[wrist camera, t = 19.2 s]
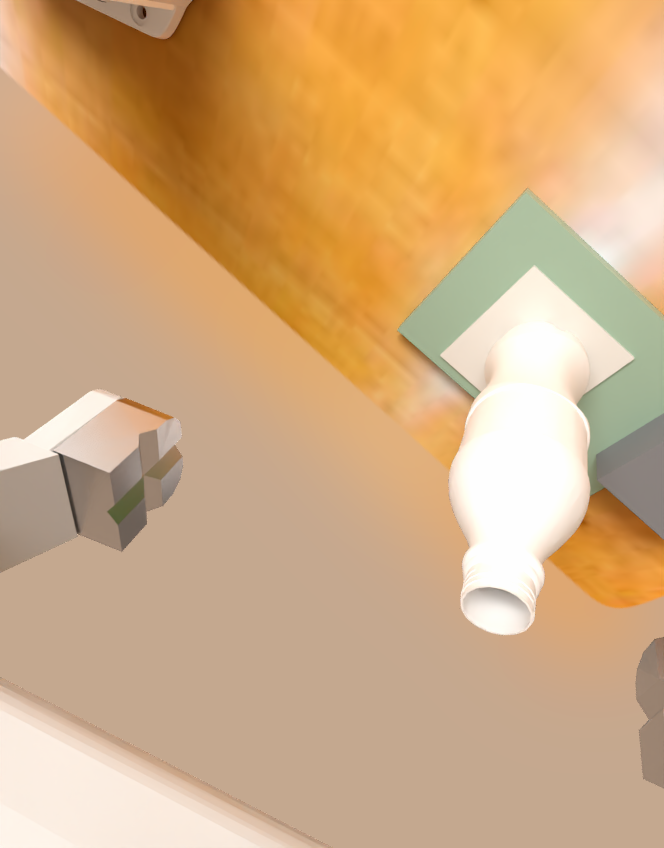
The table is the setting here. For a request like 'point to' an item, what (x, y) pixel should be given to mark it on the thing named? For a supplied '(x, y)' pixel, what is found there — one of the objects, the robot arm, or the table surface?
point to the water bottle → (521, 472)
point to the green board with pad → (567, 310)
